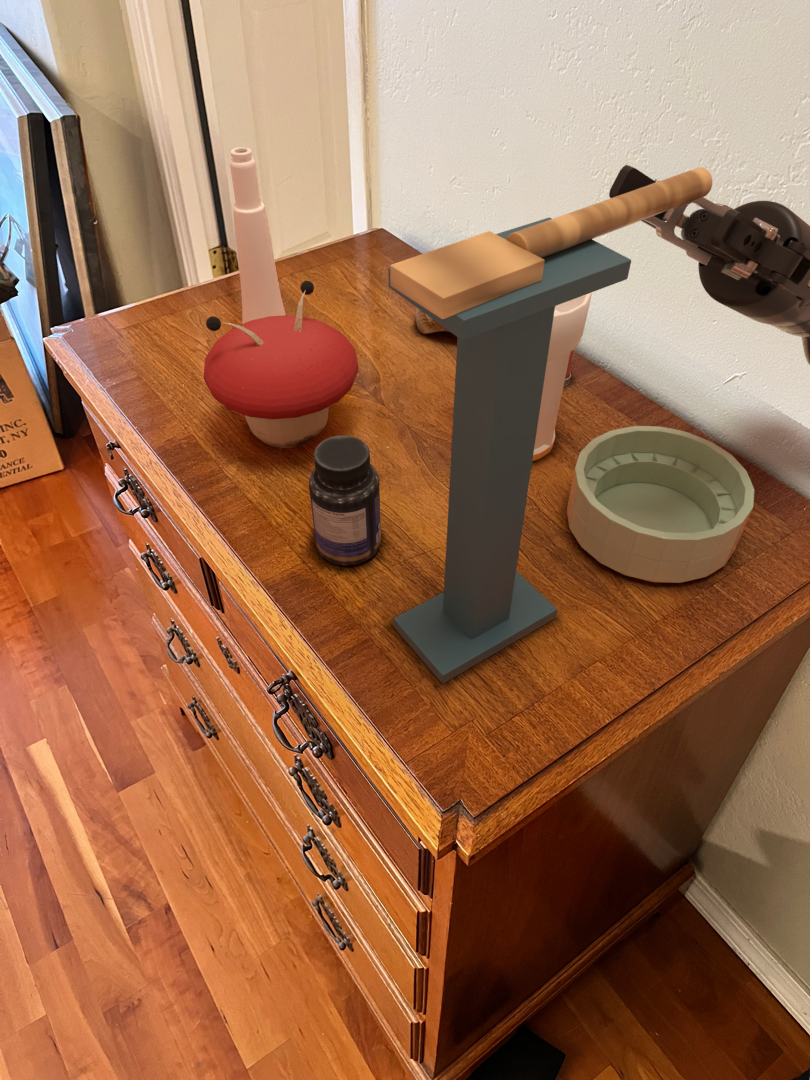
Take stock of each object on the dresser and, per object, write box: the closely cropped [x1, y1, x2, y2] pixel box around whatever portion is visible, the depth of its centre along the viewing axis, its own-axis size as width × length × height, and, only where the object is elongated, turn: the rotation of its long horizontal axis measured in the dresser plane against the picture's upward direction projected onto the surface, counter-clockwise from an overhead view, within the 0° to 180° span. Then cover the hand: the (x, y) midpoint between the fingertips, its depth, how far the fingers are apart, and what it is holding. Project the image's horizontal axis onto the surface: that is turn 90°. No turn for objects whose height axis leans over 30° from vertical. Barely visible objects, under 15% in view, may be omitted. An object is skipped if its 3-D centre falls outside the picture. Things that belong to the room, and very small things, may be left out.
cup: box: [532, 292, 593, 462], centre depth 79 cm, size 11×11×17 cm
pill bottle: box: [308, 435, 382, 567], centre depth 70 cm, size 6×6×11 cm
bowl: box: [566, 425, 755, 584], centre depth 74 cm, size 16×16×6 cm
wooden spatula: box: [389, 166, 713, 319], centre depth 46 cm, size 23×4×2 cm, turn 127°
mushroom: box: [203, 280, 360, 449], centre depth 81 cm, size 16×16×15 cm
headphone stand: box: [387, 217, 632, 685], centre depth 56 cm, size 7×12×32 cm, turn 124°
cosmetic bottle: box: [229, 147, 286, 324], centre depth 93 cm, size 6×6×22 cm
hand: (668, 203), depth 49 cm, fingers open, 8 cm apart
